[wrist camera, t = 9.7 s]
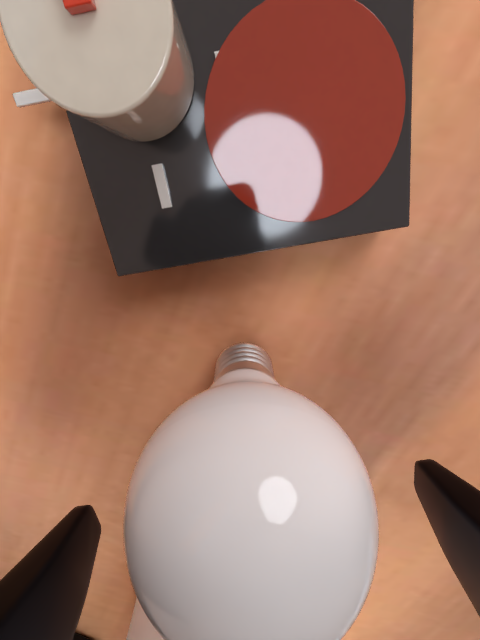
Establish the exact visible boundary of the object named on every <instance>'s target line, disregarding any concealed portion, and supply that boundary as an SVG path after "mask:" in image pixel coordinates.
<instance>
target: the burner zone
mask: <svg viewBox="0 0 480 640" xmlns="http://www.w3.org/2000/svg"><path fill="white" fill-rule="evenodd" d="M405 99H406V97H405V81H404V75H403V68H402V65H401V61H400V58H399V54H398V52H397V49H396V47H395V45H394V43H393V40H392V38H391V37H390V35H389V33H388V32H387V30H386V28H385V27H384V25H383V24H382V23H381V22H380V21H379V19H378V18H377V17H376V16H375V15H374V14H373V13H372V12H371V11H370V10H369V9H368V8H366V7H365V6H364V5H363V4H361V3H360V2H358V1H356V0H265V1H264V2H262V3H261V4H259V5H258V6H257V7H255V8H254V9H252V10H251V11H250V12H249V13H248V14H247V15H246V16H244V17H243V18H242V19H241V20H240V21H239V23H238V24H237V25H236V26H235V27H234V28H233V30H232V31H231V32H230V34H229V35H228V37H227V38H226V40H225V41H224V43H223V44H222V46H221V48H220V50H219V52H218V54H217V56H216V58H215V61H214V63H213V66H212V69H211V72H210V75H209V79H208V84H207V88H206V94H205V104H204V123H205V132H206V138H207V142H208V147H209V151H210V154H211V156H212V159H213V162H214V164H215V166H216V168H217V170H218V172H219V174H220V176H221V178H222V179H223V180H224V182H225V183H226V185H227V186H228V188H229V189H230V190H231V191H232V192H233V193H234V194H235V196H236V197H237V198H239V199H240V200H241V201H242V202H243V203H244V204H245V205H247V206H248V207H250V208H251V209H253V210H255V211H256V212H258V213H260V214H262V215H265V216H267V217H270V218H273V219H276V220H281V221H286V222H309V221H315V220H319V219H323V218H326V217H329V216H332V215H334V214H337V213H338V212H340V211H342V210H344V209H346V208H348V207H349V206H350V205H352V204H353V203H355V202H356V201H357V200H359V199H360V198H361V197H362V196H363V195H364V194H365V193H366V192H367V191H368V190H369V189H370V188H371V187H372V186H373V185H374V184H375V182H376V181H377V180H378V179H379V177H380V176H381V174H382V173H383V171H384V170H385V168H386V166H387V165H388V163H389V161H390V159H391V157H392V155H393V153H394V150H395V148H396V146H397V143H398V140H399V136H400V133H401V130H402V125H403V119H404V114H405Z"/></svg>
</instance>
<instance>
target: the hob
mask: <svg viewBox="0 0 480 640" xmlns="http://www.w3.org/2000/svg"><path fill="white" fill-rule="evenodd" d="M264 1H265V0H173V2H174V5H175V8H176V11H177V14H178V17H179V20H180V24H181V27H182V30H183V33H184V36H185V39H186V42H187V45H188V48H189V51H190V54H191V58H192V62H193V69H194V89H193V95H192V100H191V103H190V106H189V108H188V110H187V112H186V115H185V116H184V118H183V119H182V121H181V122H180V123H179V124H178V126H177V127H176V128H175V129H173V130H172V131H171V132H170V133H168V134H167V135H165V136H163V137H161V138H159V139H156V140H152V141H145V142H140V141H132V140H128V139H125V138H122V137H120V136H118V135H115V134H113V133H111V132H109V131H107V130H105V129H103V128H101V127H99V126H97V125H95V124H93V123H91V122H89V121H88V120H86V119H84V118H82V117H80V116H78V115H76V114H74V113H72V112H70V111H68V110H66V112H67V115H68V118H69V121H70V124H71V128H72V131H73V134H74V137H75V140H76V144H77V147H78V150H79V153H80V156H81V160H82V163H83V166H84V169H85V172H86V176H87V179H88V182H89V185H90V188H91V192H92V195H93V198H94V201H95V204H96V207H97V211H98V214H99V217H100V220H101V223H102V227H103V230H104V233H105V236H106V239H107V243H108V246H109V249H110V252H111V255H112V259H113V262H114V265H115V268H116V271H117V275H118V276H124V275H129V274H135V273H141V272H147V271H153V270H158V269H164V268H170V267H176V266H182V265H187V264H193V263H199V262H205V261H211V260H216V259H222V258H228V257H234V256H240V255H245V254H251V253H257V252H263V251H269V250H275V249H280V248H286V247H292V246H298V245H304V244H309V243H315V242H321V241H327V240H333V239H338V238H344V237H350V236H356V235H362V234H367V233H373V232H379V231H385V230H391V229H396V228H402V227H408V226H409V207H410V157H411V106H412V56H413V5H414V0H356V1H358V2H360V3H361V4H363V5H364V6H365V7H366V8H368V9H369V10H370V11H371V12H372V13H373V14H374V15H375V16H376V17H377V18H378V19H379V21H380V22H381V23H382V24H383V25H384V27H385V28H386V30H387V32H388V33H389V35H390V37H391V38H392V40H393V43H394V45H395V47H396V49H397V52H398V54H399V58H400V61H401V65H402V68H403V75H404V81H405V97H406V99H405V114H404V119H403V125H402V130H401V133H400V136H399V140H398V143H397V146H396V148H395V150H394V153H393V155H392V157H391V159H390V161H389V163H388V165H387V166H386V168H385V170H384V171H383V173H382V174H381V176H380V177H379V179H378V180H377V181H376V182H375V184H374V185H373V186H372V187H371V188H370V189H369V190H368V191H367V192H366V193H365V194H364V195H363V196H362V197H361V198H360V199H359V200H357V201H356V202H355V203H353V204H352V205H350V206H349V207H348V208H346V209H344V210H342V211H340V212H338V213H337V214H334V215H332V216H329V217H326V218H323V219H319V220H315V221H309V222H286V221H281V220H276V219H273V218H270V217H267V216H265V215H262V214H260V213H258V212H256V211H255V210H253V209H251V208H250V207H248V206H247V205H245V204H244V203H243V202H242V201H241V200H240V199H239V198H237V197H236V196H235V194H234V193H233V192H232V191H231V190H230V189H229V188H228V186H227V185H226V183H225V182H224V180H223V179H222V178H221V176H220V174H219V172H218V170H217V168H216V166H215V164H214V162H213V159H212V156H211V154H210V151H209V147H208V142H207V138H206V132H205V123H204V104H205V94H206V88H207V84H208V79H209V75H210V72H211V69H212V66H213V63H214V61H215V58H216V56H217V54H218V52H219V50H220V48H221V46H222V44H223V43H224V41H225V40H226V38H227V37H228V35H229V34H230V32H231V31H232V30H233V28H234V27H235V26H236V25H237V24H238V23H239V21H240V20H241V19H242V18H243V17H244V16H246V15H247V14H248V13H249V12H250V11H251V10H252V9H254V8H255V7H257V6H258V5H259V4H261V3H262V2H264ZM13 97H14V99H15V102H16V105H17V107H20V108H21V107H25V106H30V105H35V104H40V103H45V102H50V101H51V100H50V99H48V98H47V97H46V96H45V95H44V94H42V93H41V92H40V91H39V90H38V89H37V88H36V89H31V90H26V91H21V92H17V93H13Z"/></svg>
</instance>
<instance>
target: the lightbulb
mask: <svg viewBox="0 0 480 640" xmlns="http://www.w3.org/2000/svg"><path fill="white" fill-rule="evenodd" d="M123 540H124V551H125V558H126V564H127V569H128V573H129V576H130V580H131V583H132V586H133V589H134V591H135V594H136V596H137V599H138V601H139V603H140V605H141V607H142V609H143V611H144V613H145V614H146V616H147V618H148V619H149V621H150V622H151V624H152V625H153V627H154V628H155V630H156V631H157V632H158V633H159V635H160V636H161V637H162V638H163V639H164V640H341V639H342V638H343V637H344V636H345V634H346V633H347V632H348V631H349V629H350V628H351V626H352V625H353V623H354V622H355V620H356V618H357V617H358V615H359V613H360V611H361V609H362V607H363V605H364V603H365V601H366V598H367V596H368V593H369V591H370V588H371V584H372V581H373V577H374V573H375V569H376V564H377V557H378V547H379V521H378V511H377V505H376V499H375V494H374V490H373V487H372V483H371V480H370V477H369V474H368V472H367V469H366V467H365V464H364V462H363V460H362V458H361V456H360V454H359V452H358V451H357V449H356V447H355V445H354V444H353V442H352V441H351V439H350V438H349V436H348V435H347V434H346V432H345V431H344V430H343V428H342V427H341V426H340V425H339V424H338V423H337V422H336V421H335V420H334V418H332V417H331V416H330V415H329V414H328V413H327V412H326V411H325V410H324V409H322V408H321V407H320V406H319V405H317V404H316V403H315V402H313V401H312V400H310V399H308V398H307V397H305V396H303V395H301V394H299V393H297V392H295V391H293V390H291V389H288V388H285V387H283V386H280V384H279V383H278V382H277V381H276V380H275V377H274V372H273V367H272V362H271V359H270V357H269V355H268V354H267V353H266V351H264V350H263V349H262V348H261V347H259V346H257V345H255V344H251V343H237V344H234V345H231V346H229V347H227V348H226V349H225V350H224V351H223V352H222V353H221V354H220V355H219V357H218V359H217V362H216V367H215V376H214V383H213V384H212V385H211V386H210V388H209V389H207V390H205V391H203V392H200V393H199V394H197V395H195V396H193V397H191V398H190V399H188V400H187V401H185V402H184V403H182V404H181V405H180V406H178V407H177V408H176V409H175V410H174V411H173V412H171V413H170V414H169V415H168V416H167V417H166V418H165V419H164V420H163V421H162V423H161V424H160V425H159V426H158V427H157V429H156V430H155V431H154V433H153V434H152V435H151V437H150V438H149V440H148V441H147V443H146V445H145V446H144V448H143V450H142V452H141V454H140V456H139V458H138V460H137V463H136V465H135V467H134V470H133V473H132V476H131V479H130V482H129V486H128V490H127V495H126V501H125V508H124V519H123Z"/></svg>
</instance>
